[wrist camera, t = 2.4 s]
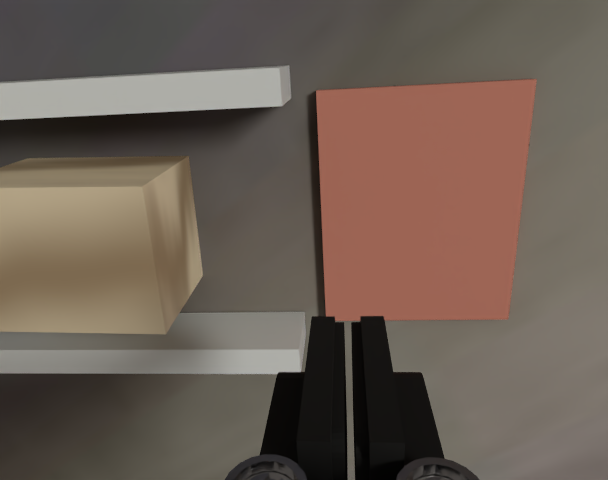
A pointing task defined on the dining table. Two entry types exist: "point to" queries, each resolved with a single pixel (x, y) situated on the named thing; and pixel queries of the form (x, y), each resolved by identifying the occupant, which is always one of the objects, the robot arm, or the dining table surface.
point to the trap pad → (422, 198)
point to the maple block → (97, 244)
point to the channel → (187, 326)
